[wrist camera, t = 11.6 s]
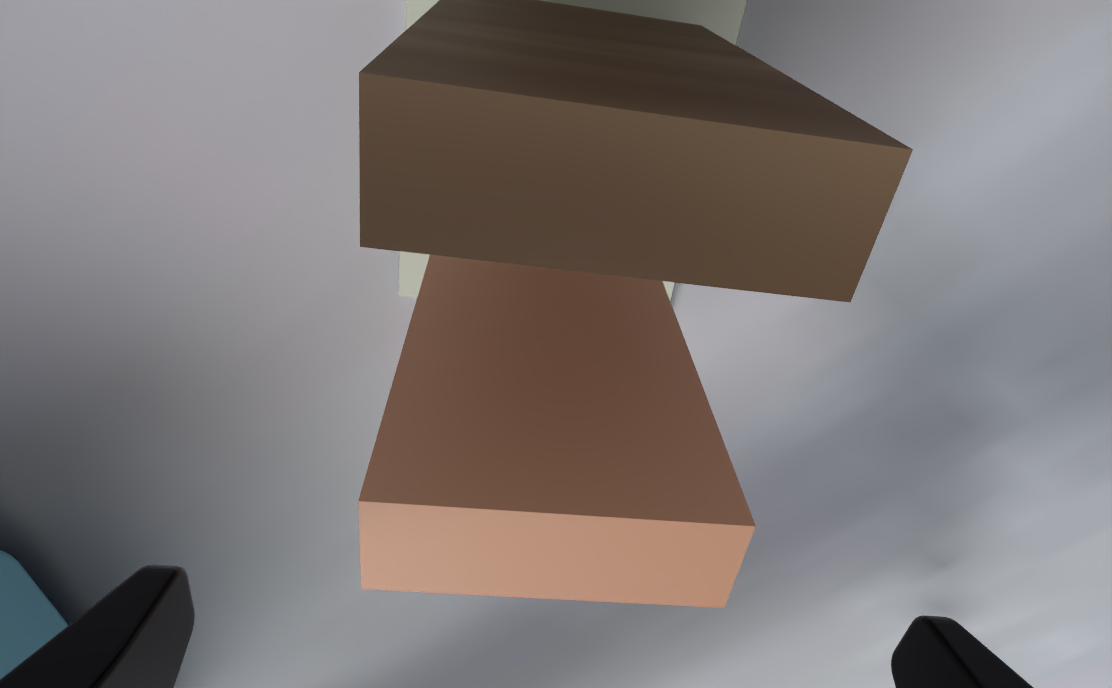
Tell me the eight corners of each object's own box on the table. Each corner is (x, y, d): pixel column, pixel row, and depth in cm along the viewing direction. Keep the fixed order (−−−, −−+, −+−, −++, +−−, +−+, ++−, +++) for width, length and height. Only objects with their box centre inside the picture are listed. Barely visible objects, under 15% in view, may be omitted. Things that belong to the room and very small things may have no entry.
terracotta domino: (636, 304, 17) (725, 607, 10) (436, 285, 17) (360, 588, 9) (649, 245, 17) (755, 527, 9) (438, 224, 16) (359, 501, 8)
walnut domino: (453, -13, 13) (359, 71, 6) (701, 25, 14) (913, 149, 6) (449, 72, 14) (359, 247, 7) (682, 106, 15) (850, 301, 7)
